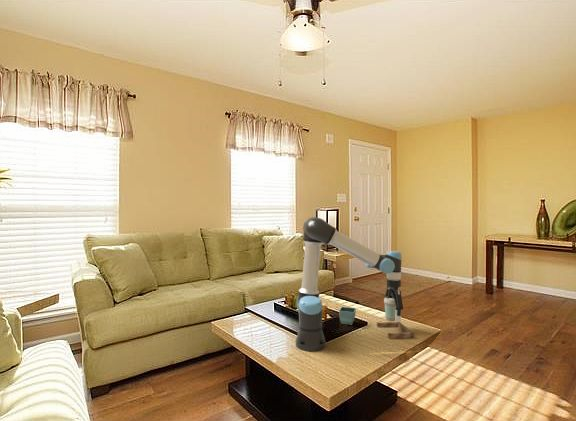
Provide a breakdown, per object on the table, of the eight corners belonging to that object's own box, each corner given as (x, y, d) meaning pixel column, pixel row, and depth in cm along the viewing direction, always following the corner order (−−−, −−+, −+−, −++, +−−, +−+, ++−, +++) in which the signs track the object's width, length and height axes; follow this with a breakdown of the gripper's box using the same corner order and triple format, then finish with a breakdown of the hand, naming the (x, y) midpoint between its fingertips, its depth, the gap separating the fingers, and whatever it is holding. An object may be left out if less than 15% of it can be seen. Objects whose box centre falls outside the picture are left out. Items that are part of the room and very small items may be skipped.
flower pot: (356, 322, 193) (356, 307, 193) (354, 327, 185) (354, 312, 185) (341, 321, 196) (341, 306, 196) (338, 326, 188) (338, 310, 188)
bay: (388, 338, 169) (388, 333, 169) (376, 326, 187) (376, 322, 187) (413, 338, 170) (413, 333, 170) (399, 326, 188) (399, 321, 188)
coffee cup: (397, 317, 185) (397, 296, 184) (400, 322, 176) (401, 301, 176) (381, 316, 185) (382, 295, 185) (384, 321, 177) (385, 300, 177)
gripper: (410, 284, 166) (409, 325, 166) (391, 275, 191) (390, 310, 191) (396, 283, 166) (395, 325, 165) (379, 274, 191) (378, 310, 190)
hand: (392, 317), depth 178 cm, fingers open, 13 cm apart
